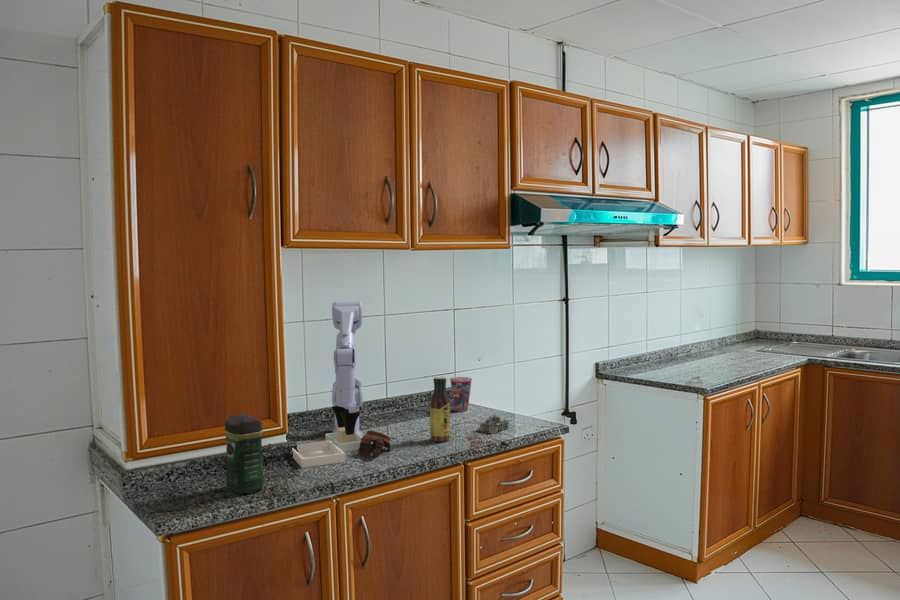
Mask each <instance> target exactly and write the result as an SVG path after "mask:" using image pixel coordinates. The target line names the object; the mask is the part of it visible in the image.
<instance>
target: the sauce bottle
mask: <svg viewBox="0 0 900 600" xmlns="http://www.w3.org/2000/svg"><path fill="white" fill-rule="evenodd" d="M429 408H430V409H429V410H430V411H429V413H430V414H429V415H430V417H429V420H430V423H429V426H430V427H429V429H430V430H429V434H430V440H431V441H432V442H436V443H442V442H448V441H449V440H450V436H451V403H450V399H449V396H448V393H447V378H446V377H444V376H435V377H433V393H432V395H431V397H430V407H429Z"/></svg>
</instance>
